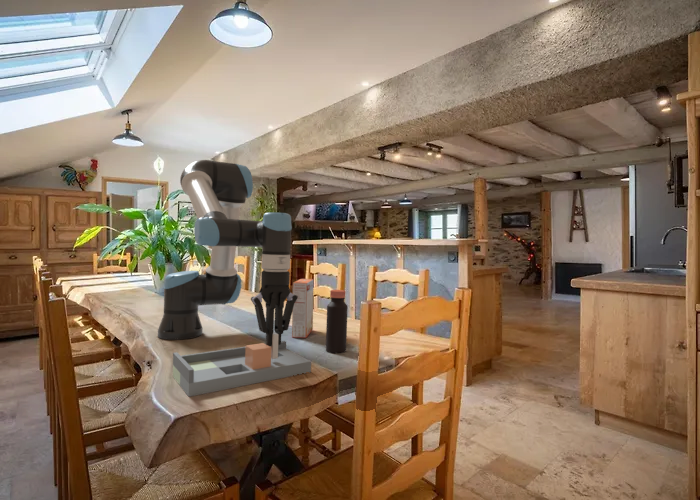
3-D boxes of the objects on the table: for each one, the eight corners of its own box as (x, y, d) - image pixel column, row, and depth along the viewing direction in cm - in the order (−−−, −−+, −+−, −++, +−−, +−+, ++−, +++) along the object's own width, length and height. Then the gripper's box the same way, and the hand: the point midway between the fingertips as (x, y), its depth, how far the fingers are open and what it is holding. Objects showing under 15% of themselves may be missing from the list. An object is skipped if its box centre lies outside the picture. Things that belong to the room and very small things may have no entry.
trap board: (172, 375, 100) (173, 352, 100) (284, 357, 119) (284, 337, 119) (188, 396, 87) (189, 370, 87) (310, 372, 106) (311, 350, 106)
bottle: (338, 354, 123) (340, 292, 123) (321, 351, 127) (323, 290, 127) (350, 350, 129) (352, 290, 129) (333, 346, 133) (335, 288, 132)
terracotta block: (245, 364, 102) (245, 345, 102) (262, 361, 105) (263, 343, 105) (252, 369, 98) (253, 350, 98) (270, 366, 101) (271, 347, 101)
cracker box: (298, 329, 157) (300, 278, 157) (313, 330, 157) (314, 278, 157) (290, 337, 143) (292, 281, 143) (306, 338, 143) (308, 282, 143)
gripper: (258, 271, 97) (255, 365, 97) (303, 271, 105) (301, 357, 105) (247, 269, 103) (244, 357, 103) (290, 268, 111) (288, 350, 111)
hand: (273, 357), depth 104 cm, fingers closed
